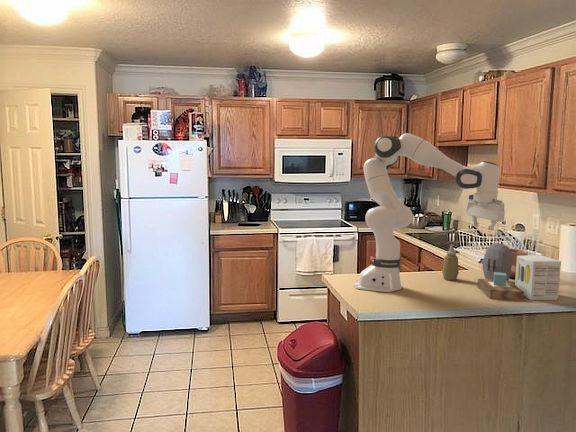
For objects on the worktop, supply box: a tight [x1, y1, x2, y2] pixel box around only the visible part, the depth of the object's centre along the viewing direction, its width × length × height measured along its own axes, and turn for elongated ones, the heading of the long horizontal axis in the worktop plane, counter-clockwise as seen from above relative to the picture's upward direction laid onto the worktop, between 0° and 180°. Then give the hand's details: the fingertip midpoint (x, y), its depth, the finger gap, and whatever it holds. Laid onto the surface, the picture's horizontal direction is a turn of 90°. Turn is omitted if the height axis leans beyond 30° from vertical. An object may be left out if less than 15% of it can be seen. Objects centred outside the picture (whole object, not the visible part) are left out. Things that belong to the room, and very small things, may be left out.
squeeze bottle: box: [441, 244, 460, 281], centre depth 241 cm, size 8×8×18 cm
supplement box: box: [514, 255, 562, 301], centre depth 213 cm, size 13×13×18 cm
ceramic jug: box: [509, 248, 529, 279], centre depth 250 cm, size 18×14×14 cm
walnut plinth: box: [476, 278, 524, 301], centre depth 217 cm, size 14×20×4 cm
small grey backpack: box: [482, 242, 512, 281], centre depth 238 cm, size 15×8×20 cm, turn 27°
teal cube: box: [493, 272, 507, 286], centre depth 217 cm, size 5×5×5 cm
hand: (483, 228), depth 213 cm, fingers open, 8 cm apart
